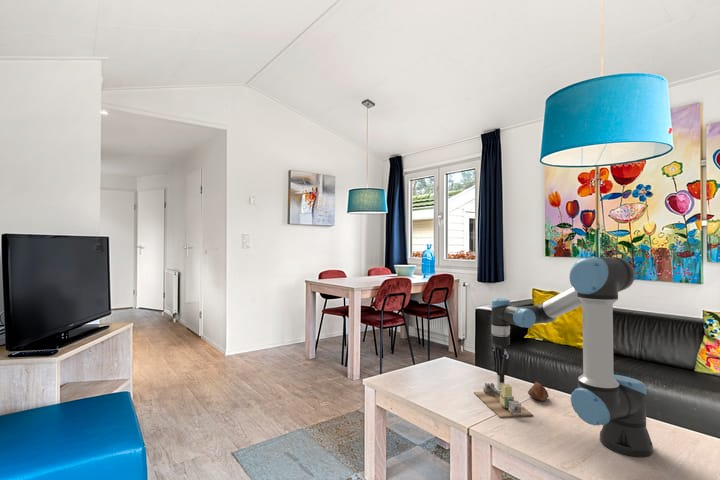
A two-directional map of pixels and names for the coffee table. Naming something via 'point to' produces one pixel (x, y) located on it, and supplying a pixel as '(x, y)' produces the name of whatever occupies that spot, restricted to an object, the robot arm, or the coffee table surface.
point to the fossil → (538, 392)
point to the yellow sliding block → (506, 394)
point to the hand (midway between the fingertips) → (500, 389)
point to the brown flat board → (493, 402)
